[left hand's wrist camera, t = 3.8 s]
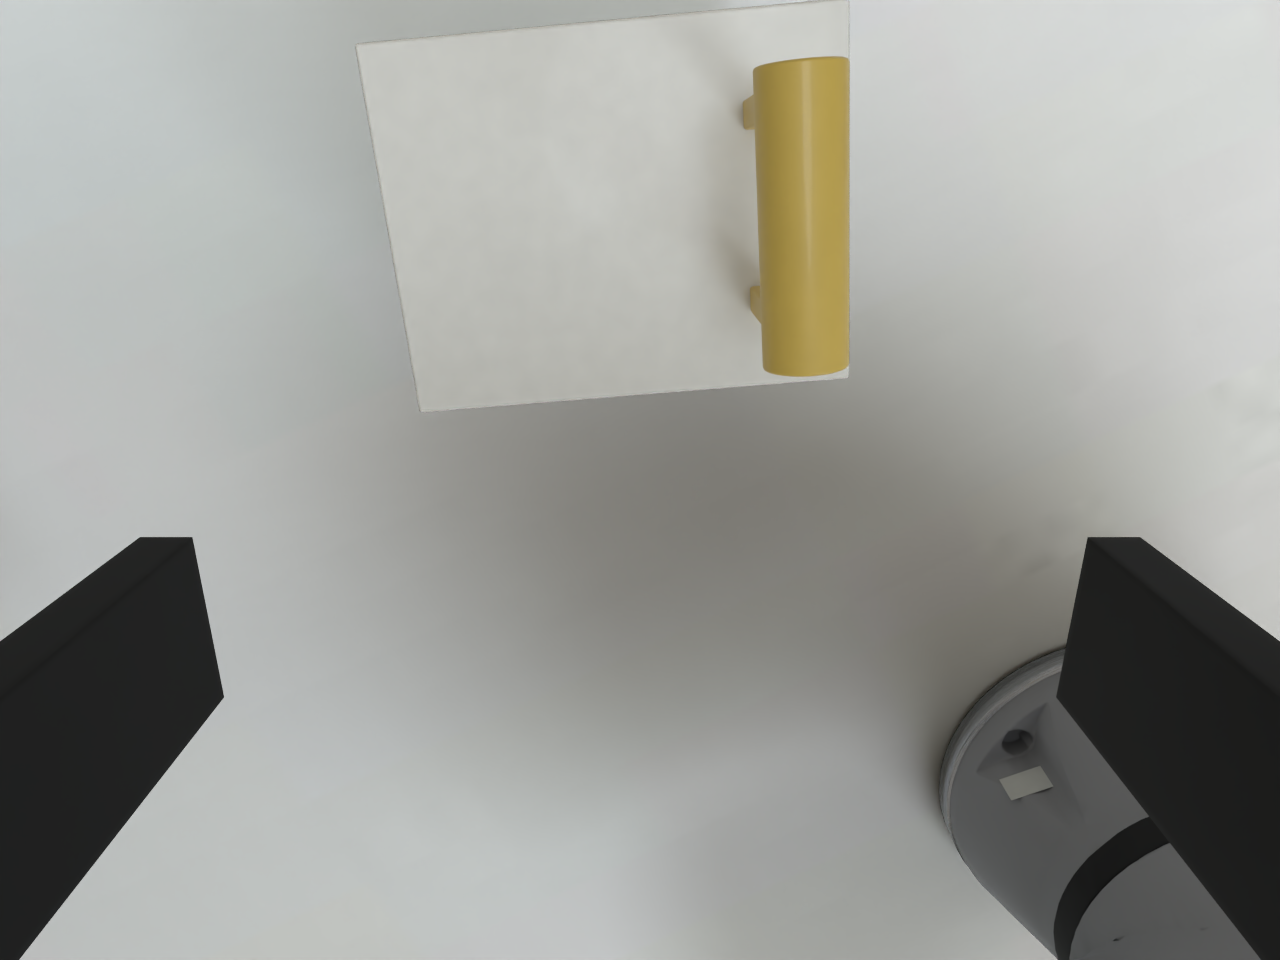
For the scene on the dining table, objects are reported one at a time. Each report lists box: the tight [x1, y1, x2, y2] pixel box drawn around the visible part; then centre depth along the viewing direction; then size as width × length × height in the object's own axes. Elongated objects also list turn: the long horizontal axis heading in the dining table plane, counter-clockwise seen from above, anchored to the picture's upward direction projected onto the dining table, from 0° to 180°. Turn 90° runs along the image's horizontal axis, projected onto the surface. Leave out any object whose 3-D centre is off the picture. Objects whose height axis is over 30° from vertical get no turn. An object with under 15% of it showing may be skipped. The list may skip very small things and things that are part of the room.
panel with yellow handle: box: [355, 0, 850, 412], centre depth 20 cm, size 12×9×8 cm
